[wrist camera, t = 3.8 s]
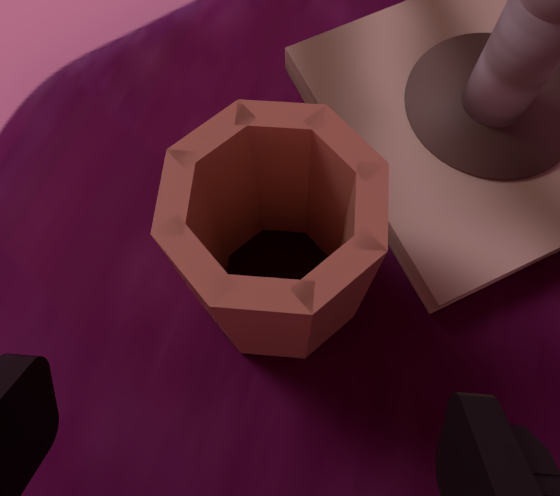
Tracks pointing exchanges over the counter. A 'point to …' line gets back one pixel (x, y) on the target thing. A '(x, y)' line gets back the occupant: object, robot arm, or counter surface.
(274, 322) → the collar
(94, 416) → the counter surface
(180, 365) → the counter surface
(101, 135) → the counter surface
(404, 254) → the post stand
